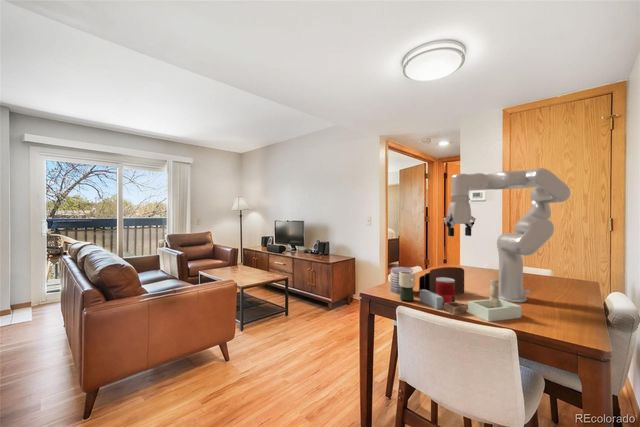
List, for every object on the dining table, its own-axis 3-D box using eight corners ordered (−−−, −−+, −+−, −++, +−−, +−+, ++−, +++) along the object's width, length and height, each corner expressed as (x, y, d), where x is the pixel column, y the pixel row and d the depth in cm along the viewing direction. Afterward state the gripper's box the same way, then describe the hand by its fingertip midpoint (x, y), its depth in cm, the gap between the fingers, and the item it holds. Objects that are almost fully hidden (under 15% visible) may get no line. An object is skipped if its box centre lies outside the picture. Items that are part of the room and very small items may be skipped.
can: (417, 294, 138) (417, 270, 138) (396, 295, 136) (397, 271, 136) (405, 288, 149) (405, 266, 149) (386, 289, 147) (386, 267, 147)
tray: (498, 308, 117) (498, 298, 117) (521, 317, 108) (521, 306, 108) (467, 312, 113) (468, 301, 113) (488, 321, 104) (488, 309, 104)
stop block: (425, 300, 129) (425, 289, 129) (442, 308, 117) (442, 297, 117) (419, 300, 128) (419, 289, 128) (436, 309, 117) (436, 297, 117)
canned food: (457, 306, 120) (457, 281, 120) (437, 305, 122) (437, 280, 122) (452, 301, 128) (452, 277, 128) (434, 299, 129) (434, 276, 129)
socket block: (456, 308, 117) (456, 301, 117) (466, 313, 112) (466, 306, 112) (444, 310, 116) (444, 303, 116) (454, 315, 110) (454, 307, 110)
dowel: (493, 310, 112) (493, 279, 112) (500, 313, 110) (500, 281, 109) (487, 311, 112) (488, 279, 112) (494, 314, 109) (494, 281, 109)
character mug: (420, 303, 124) (420, 274, 124) (406, 304, 123) (406, 275, 123) (407, 296, 135) (407, 269, 135) (394, 297, 133) (394, 270, 133)
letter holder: (464, 294, 139) (464, 266, 139) (430, 296, 134) (430, 268, 134) (451, 289, 149) (451, 263, 148) (418, 291, 144) (418, 264, 144)
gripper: (468, 200, 136) (468, 235, 136) (439, 200, 131) (438, 235, 132) (481, 200, 129) (481, 236, 129) (450, 199, 124) (449, 237, 124)
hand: (459, 235), depth 130 cm, fingers open, 9 cm apart
